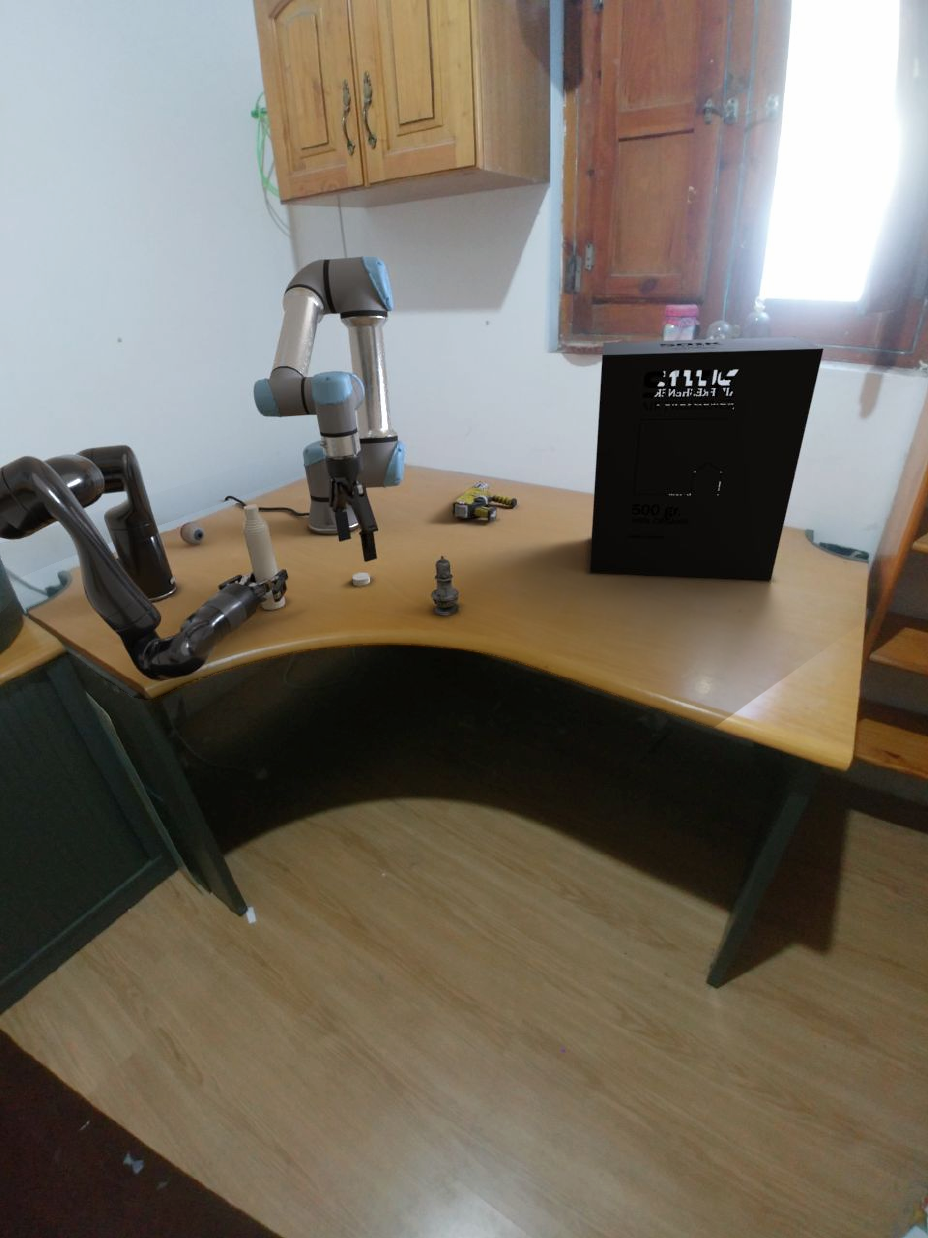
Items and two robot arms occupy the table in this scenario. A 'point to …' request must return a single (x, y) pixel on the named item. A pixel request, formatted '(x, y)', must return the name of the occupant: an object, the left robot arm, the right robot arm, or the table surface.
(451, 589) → the grey chess piece
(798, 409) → the cardboard box
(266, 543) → the bottle
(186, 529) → the eyeball
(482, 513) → the toy gun
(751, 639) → the table surface
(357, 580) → the cap
